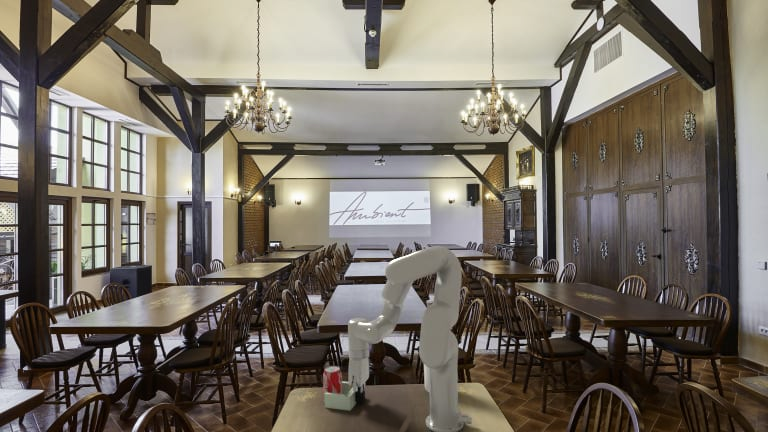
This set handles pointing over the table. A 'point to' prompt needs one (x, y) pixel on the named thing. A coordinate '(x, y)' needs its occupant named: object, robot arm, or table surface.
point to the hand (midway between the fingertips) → (360, 401)
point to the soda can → (332, 380)
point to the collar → (341, 398)
